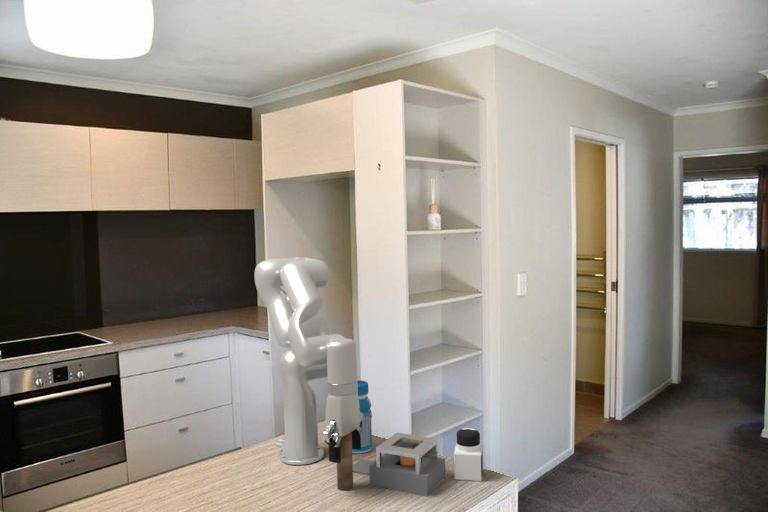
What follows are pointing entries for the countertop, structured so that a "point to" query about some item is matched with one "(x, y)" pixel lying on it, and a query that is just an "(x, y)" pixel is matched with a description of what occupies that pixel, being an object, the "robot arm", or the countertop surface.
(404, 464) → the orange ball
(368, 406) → the beverage bottle
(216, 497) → the countertop surface
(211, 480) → the countertop surface
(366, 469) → the pad
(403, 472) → the box
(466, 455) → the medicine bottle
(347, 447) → the brown rod
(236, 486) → the countertop surface
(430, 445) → the frame
